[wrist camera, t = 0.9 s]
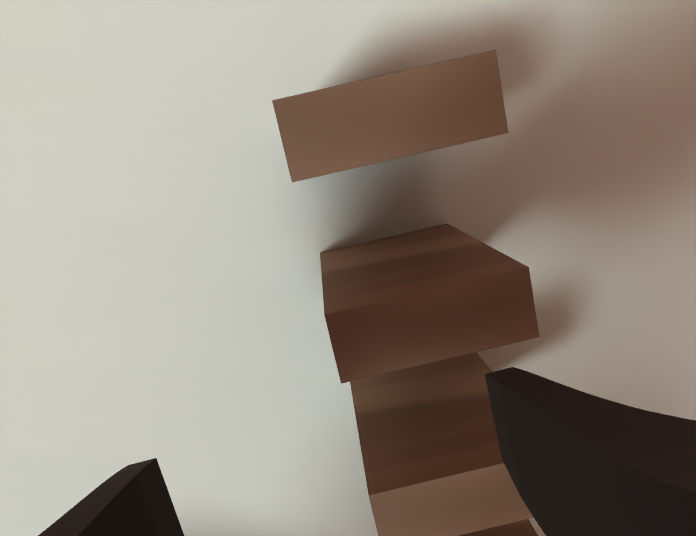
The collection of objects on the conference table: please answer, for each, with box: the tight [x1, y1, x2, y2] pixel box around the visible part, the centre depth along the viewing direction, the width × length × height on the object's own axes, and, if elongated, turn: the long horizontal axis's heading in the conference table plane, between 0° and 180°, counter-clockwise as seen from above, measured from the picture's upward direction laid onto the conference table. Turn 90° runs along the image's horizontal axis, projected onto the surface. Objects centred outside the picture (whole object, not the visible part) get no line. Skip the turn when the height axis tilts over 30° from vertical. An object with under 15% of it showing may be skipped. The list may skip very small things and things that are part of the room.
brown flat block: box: [272, 50, 508, 182], centre depth 16 cm, size 2×5×8 cm, turn 103°
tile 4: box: [320, 224, 539, 383], centre depth 17 cm, size 2×5×8 cm, turn 103°
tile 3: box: [350, 352, 533, 536], centre depth 18 cm, size 2×5×8 cm, turn 103°
